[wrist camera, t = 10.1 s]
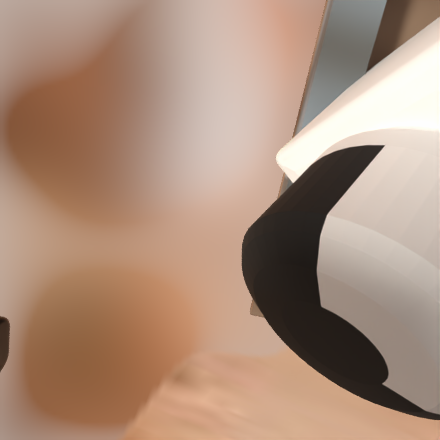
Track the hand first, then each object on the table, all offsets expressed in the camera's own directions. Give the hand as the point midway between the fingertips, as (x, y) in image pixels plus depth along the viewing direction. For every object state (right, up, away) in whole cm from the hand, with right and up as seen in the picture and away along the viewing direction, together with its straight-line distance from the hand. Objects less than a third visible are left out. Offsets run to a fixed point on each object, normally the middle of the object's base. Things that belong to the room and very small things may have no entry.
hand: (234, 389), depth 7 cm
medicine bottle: (+10, +8, +7) cm, 14 cm away
